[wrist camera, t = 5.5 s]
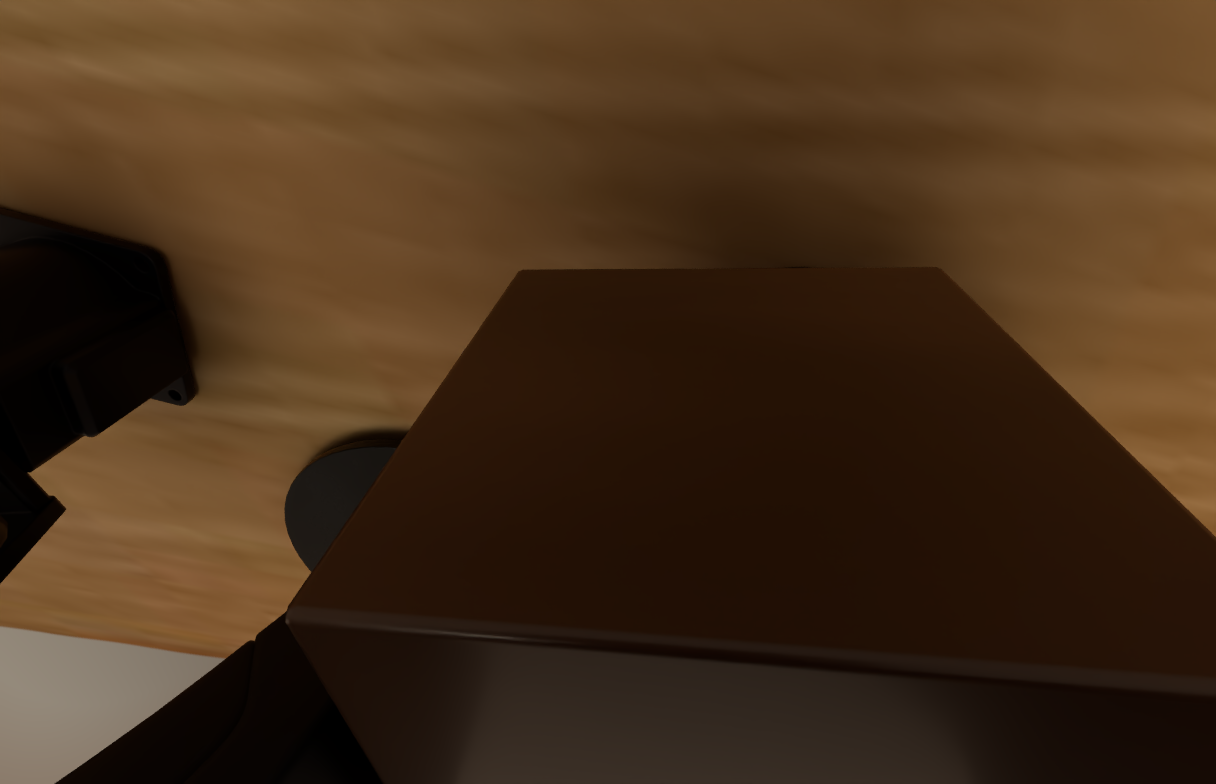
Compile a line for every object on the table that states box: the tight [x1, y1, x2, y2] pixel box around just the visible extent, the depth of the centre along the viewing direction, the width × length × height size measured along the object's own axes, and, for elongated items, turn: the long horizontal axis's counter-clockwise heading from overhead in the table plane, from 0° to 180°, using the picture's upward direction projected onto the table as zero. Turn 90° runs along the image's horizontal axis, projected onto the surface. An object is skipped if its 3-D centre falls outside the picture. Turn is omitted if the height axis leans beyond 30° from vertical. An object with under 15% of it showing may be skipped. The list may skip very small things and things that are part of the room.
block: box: [286, 267, 1216, 784], centre depth 6 cm, size 5×5×5 cm
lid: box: [285, 440, 402, 572], centre depth 23 cm, size 12×12×5 cm
